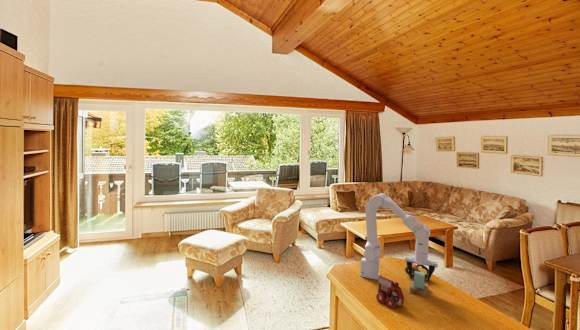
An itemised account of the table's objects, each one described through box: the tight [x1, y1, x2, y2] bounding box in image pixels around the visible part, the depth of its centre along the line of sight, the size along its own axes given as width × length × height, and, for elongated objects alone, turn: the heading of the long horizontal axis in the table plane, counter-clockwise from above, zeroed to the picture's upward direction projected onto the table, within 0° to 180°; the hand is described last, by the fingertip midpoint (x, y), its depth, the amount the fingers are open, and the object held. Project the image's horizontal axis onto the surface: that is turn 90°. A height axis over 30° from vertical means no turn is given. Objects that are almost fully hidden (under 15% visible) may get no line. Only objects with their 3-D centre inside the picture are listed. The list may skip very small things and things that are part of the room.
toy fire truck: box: [376, 275, 405, 309], centre depth 135 cm, size 7×12×10 cm, turn 39°
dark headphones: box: [404, 264, 429, 281], centre depth 161 cm, size 12×10×8 cm
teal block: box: [413, 271, 426, 289], centre depth 147 cm, size 4×4×6 cm
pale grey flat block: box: [409, 280, 429, 297], centre depth 148 cm, size 8×8×3 cm
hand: (419, 279), depth 147 cm, fingers open, 7 cm apart
